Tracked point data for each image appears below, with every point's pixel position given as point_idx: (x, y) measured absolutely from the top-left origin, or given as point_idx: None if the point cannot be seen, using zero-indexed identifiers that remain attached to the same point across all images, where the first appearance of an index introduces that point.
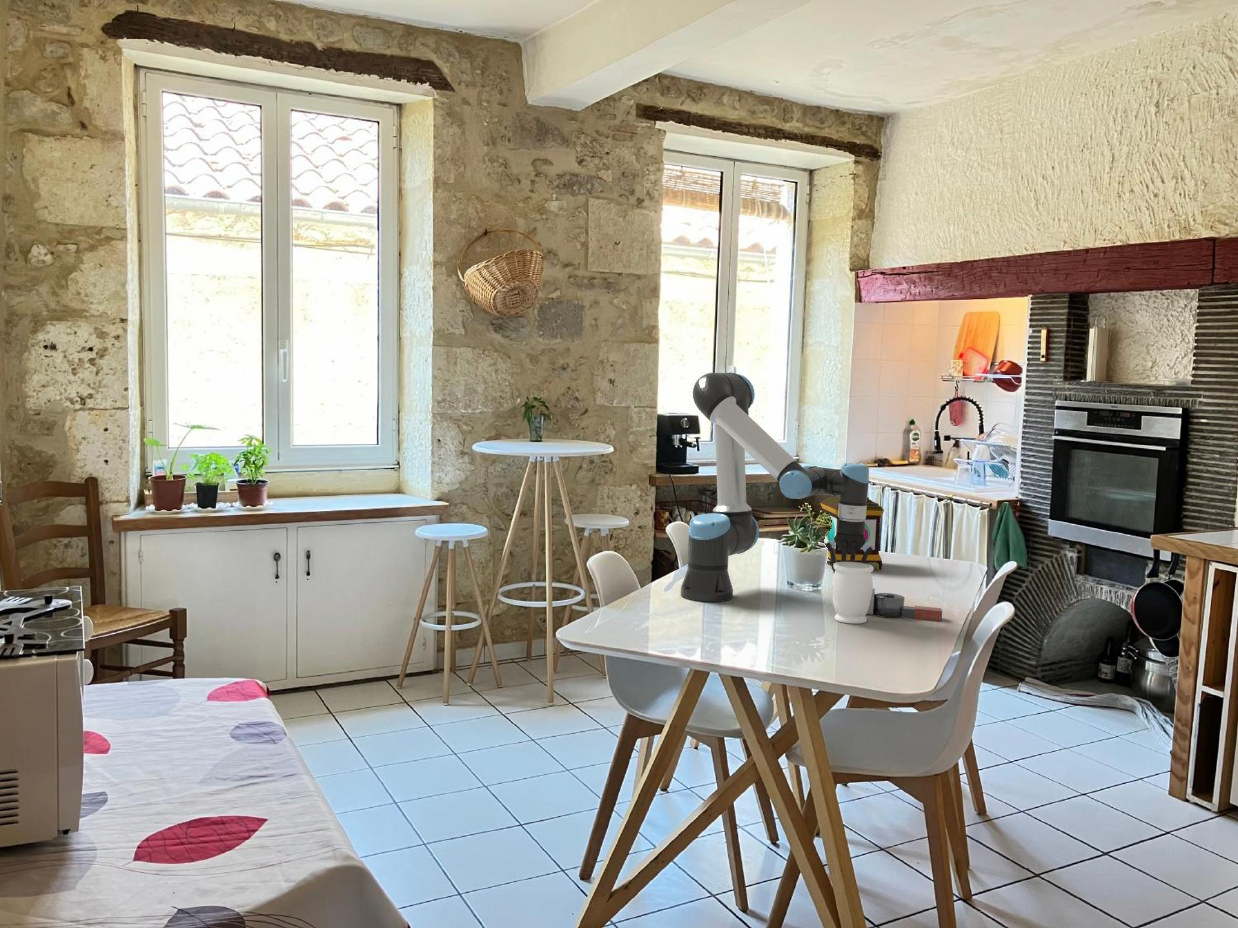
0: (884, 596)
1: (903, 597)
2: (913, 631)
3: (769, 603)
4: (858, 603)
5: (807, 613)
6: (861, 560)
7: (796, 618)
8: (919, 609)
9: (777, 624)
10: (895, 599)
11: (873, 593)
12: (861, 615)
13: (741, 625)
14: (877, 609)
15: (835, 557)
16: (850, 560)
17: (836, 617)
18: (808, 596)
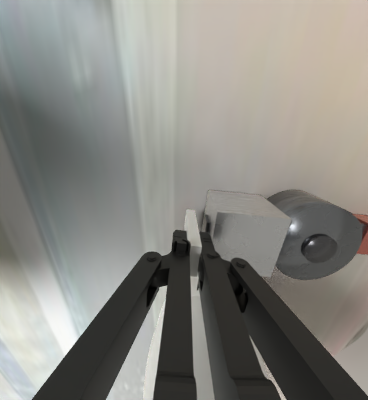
0: (300, 251)
1: (356, 247)
2: (297, 317)
3: (14, 204)
4: None
5: (114, 262)
6: (285, 392)
7: (102, 297)
8: (365, 253)
9: (82, 332)
10: (321, 274)
11: (269, 275)
12: None
13: (35, 347)
14: None
15: (113, 367)
16: (214, 379)
17: None
18: (81, 77)
